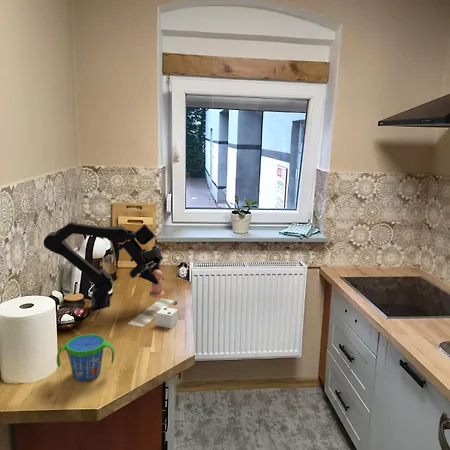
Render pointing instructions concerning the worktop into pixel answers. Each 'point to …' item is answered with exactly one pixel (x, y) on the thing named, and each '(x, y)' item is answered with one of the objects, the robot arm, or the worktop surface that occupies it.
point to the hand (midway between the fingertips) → (160, 282)
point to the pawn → (157, 288)
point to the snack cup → (85, 355)
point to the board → (151, 312)
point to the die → (167, 317)
